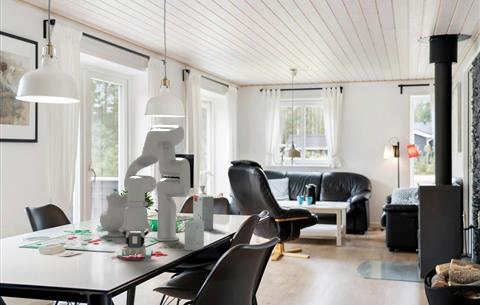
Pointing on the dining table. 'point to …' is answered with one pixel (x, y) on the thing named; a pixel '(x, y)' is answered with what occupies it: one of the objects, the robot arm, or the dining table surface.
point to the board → (135, 252)
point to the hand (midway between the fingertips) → (135, 245)
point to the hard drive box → (203, 209)
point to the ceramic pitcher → (114, 214)
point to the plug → (134, 240)
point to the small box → (194, 235)
